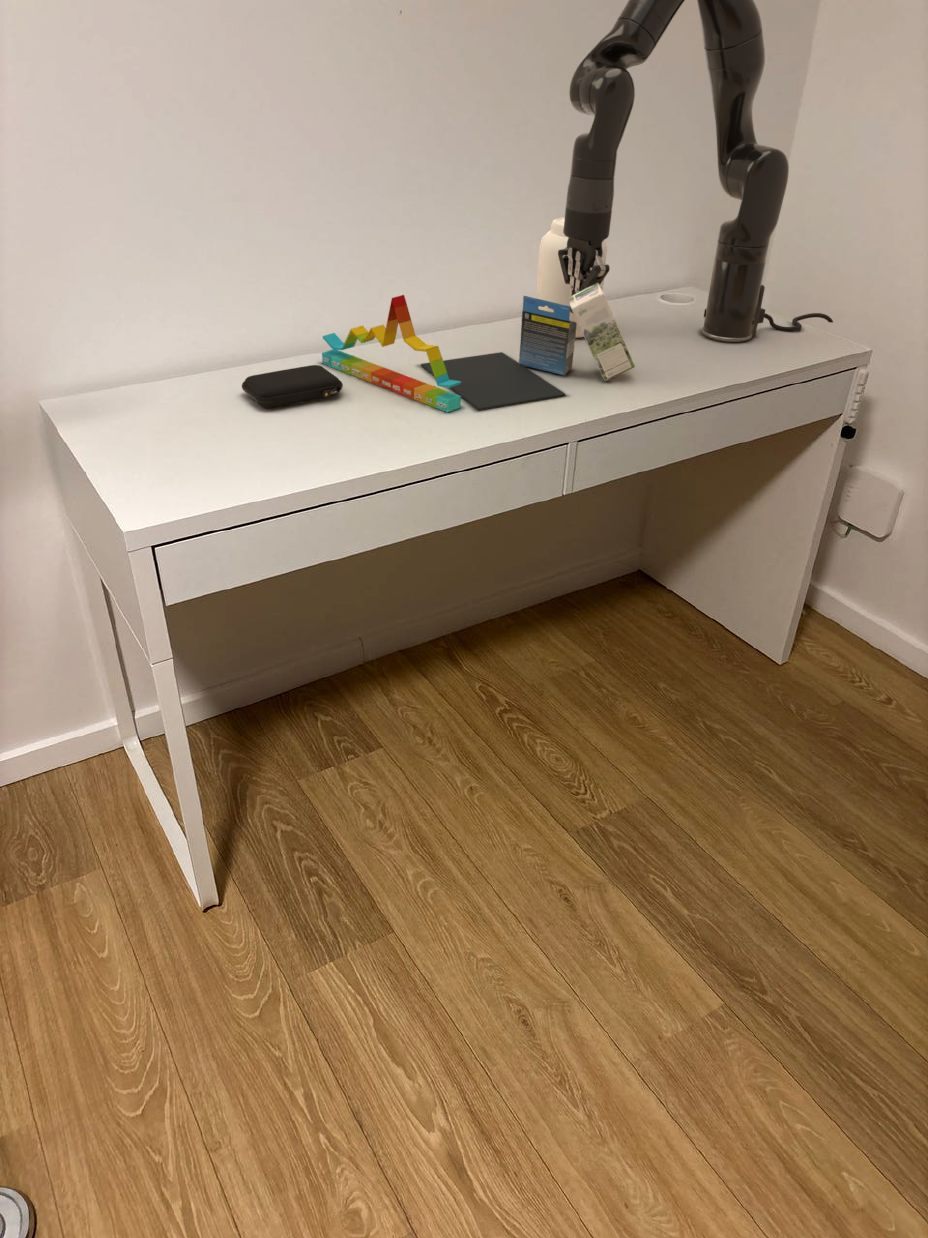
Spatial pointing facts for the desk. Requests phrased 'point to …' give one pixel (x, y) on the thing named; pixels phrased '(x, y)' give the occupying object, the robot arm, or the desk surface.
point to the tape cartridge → (547, 336)
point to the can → (556, 270)
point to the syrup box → (601, 331)
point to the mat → (495, 381)
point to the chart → (387, 376)
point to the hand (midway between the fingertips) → (577, 313)
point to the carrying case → (292, 386)
